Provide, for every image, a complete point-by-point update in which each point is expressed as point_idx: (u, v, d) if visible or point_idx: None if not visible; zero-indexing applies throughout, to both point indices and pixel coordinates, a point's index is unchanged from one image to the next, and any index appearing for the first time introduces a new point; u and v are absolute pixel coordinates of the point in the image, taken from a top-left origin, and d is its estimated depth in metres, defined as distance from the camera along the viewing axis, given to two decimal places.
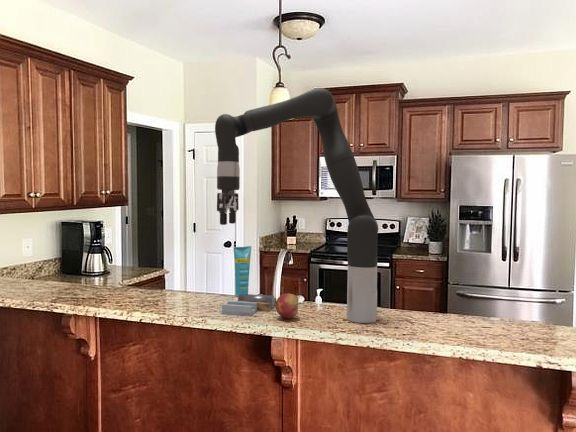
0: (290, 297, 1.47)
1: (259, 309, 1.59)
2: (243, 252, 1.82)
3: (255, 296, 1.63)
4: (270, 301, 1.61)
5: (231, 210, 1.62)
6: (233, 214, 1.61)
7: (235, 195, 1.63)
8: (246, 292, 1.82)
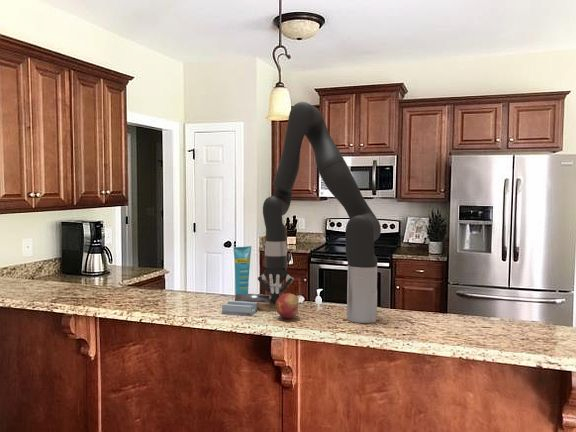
0: (290, 297, 1.47)
1: (259, 309, 1.59)
2: (243, 252, 1.82)
3: (252, 295, 1.64)
4: (267, 300, 1.61)
5: (274, 290, 1.62)
6: None
7: None
8: (246, 292, 1.82)
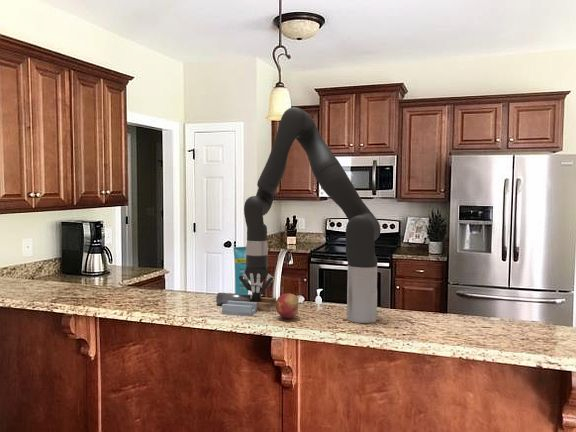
0: (290, 297, 1.47)
1: (259, 309, 1.59)
2: (243, 252, 1.82)
3: (233, 294, 1.65)
4: (248, 299, 1.63)
5: (255, 289, 1.64)
6: None
7: None
8: (246, 292, 1.82)
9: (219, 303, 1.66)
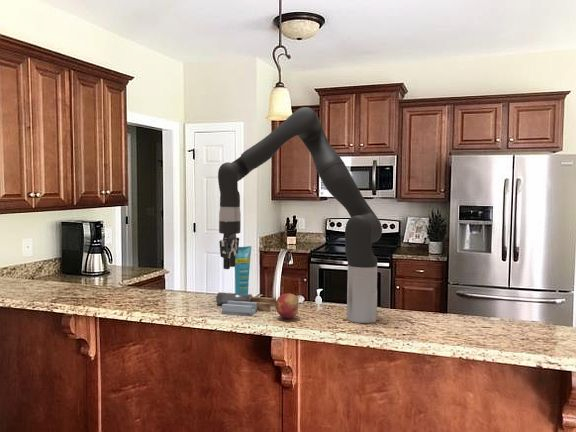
0: (290, 297, 1.47)
1: (259, 309, 1.59)
2: (243, 252, 1.82)
3: (233, 294, 1.65)
4: (248, 299, 1.63)
5: None
6: None
7: None
8: (246, 292, 1.82)
9: (219, 303, 1.66)
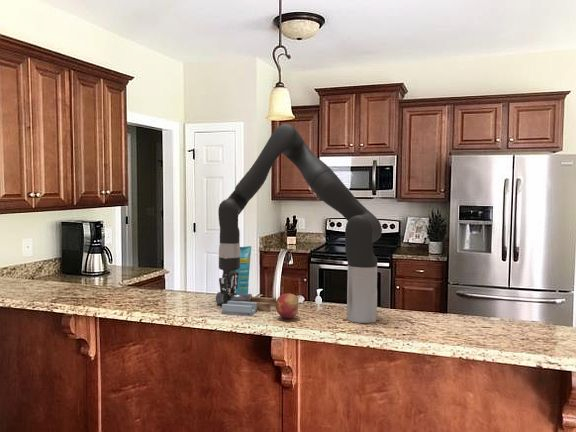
0: (290, 297, 1.47)
1: (259, 309, 1.59)
2: (243, 252, 1.82)
3: (233, 294, 1.65)
4: (247, 299, 1.63)
5: None
6: None
7: None
8: (246, 292, 1.82)
9: (219, 303, 1.65)
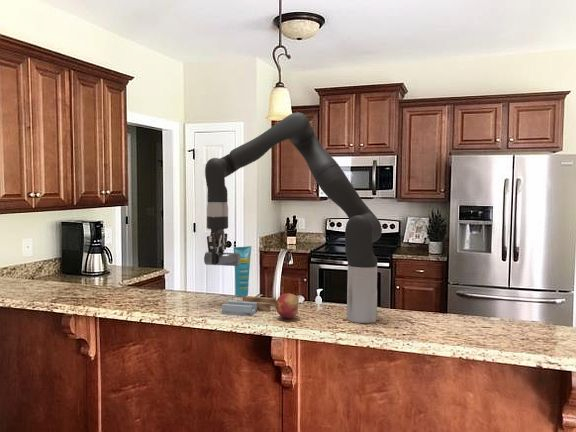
0: (290, 297, 1.47)
1: (259, 309, 1.59)
2: (243, 252, 1.82)
3: (221, 253, 1.65)
4: (235, 258, 1.63)
5: None
6: None
7: None
8: (246, 292, 1.82)
9: (207, 262, 1.65)
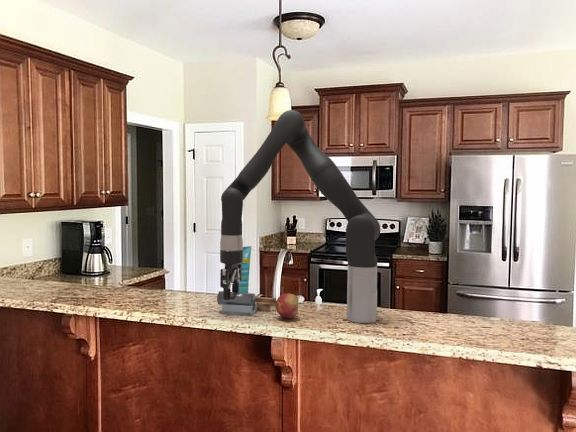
0: (290, 297, 1.47)
1: (259, 309, 1.59)
2: (243, 252, 1.82)
3: (235, 293, 1.55)
4: (250, 299, 1.53)
5: None
6: None
7: None
8: (246, 292, 1.82)
9: (220, 303, 1.56)
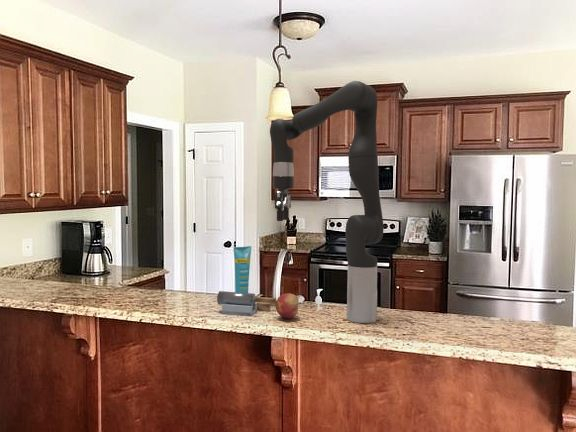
0: (290, 297, 1.47)
1: (259, 309, 1.59)
2: (243, 252, 1.82)
3: (235, 293, 1.55)
4: (250, 299, 1.53)
5: None
6: None
7: None
8: (246, 292, 1.82)
9: (220, 303, 1.56)
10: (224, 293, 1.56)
